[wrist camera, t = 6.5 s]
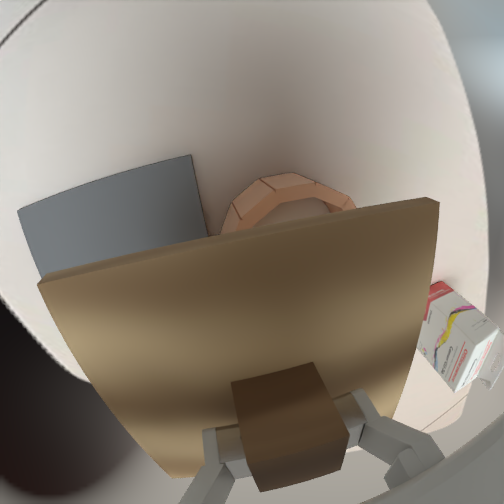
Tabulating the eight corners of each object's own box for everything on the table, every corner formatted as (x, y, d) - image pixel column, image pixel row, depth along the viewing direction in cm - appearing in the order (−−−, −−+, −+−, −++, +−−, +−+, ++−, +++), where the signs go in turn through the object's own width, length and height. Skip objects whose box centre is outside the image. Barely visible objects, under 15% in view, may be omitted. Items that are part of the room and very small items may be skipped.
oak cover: (46, 273, 8) (-18, 356, 4) (426, 197, 10) (515, 236, 6) (171, 468, 14) (175, 527, 10) (385, 414, 15) (415, 462, 11)
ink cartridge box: (415, 290, 32) (493, 361, 18) (441, 279, 32) (517, 340, 19) (406, 340, 35) (466, 410, 22) (431, 328, 36) (491, 390, 22)
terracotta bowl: (210, 188, 23) (213, 201, 18) (335, 166, 24) (365, 174, 19) (234, 302, 27) (243, 335, 23) (341, 275, 28) (365, 300, 24)
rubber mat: (19, 209, 20) (16, 210, 19) (190, 154, 22) (190, 155, 21) (84, 354, 27) (83, 357, 26) (231, 328, 29) (231, 331, 28)
